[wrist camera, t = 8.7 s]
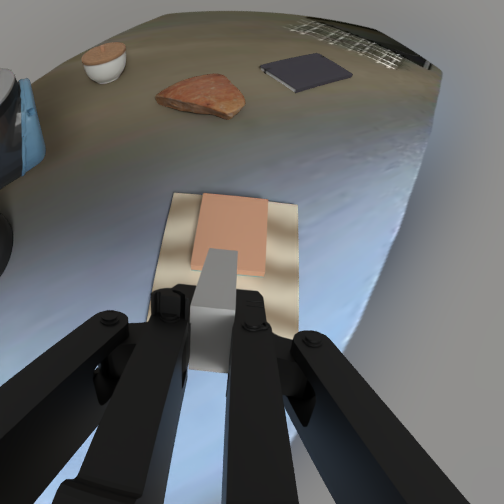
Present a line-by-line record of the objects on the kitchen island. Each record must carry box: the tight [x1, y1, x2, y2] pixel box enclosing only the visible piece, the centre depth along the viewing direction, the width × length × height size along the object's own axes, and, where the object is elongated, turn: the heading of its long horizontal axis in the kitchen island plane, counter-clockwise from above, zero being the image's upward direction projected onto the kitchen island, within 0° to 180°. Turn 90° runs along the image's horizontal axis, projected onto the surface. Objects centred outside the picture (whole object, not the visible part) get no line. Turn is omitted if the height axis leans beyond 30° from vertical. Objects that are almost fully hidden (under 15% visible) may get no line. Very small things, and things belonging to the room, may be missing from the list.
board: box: [147, 193, 299, 340], centre depth 40 cm, size 20×18×1 cm
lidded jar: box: [82, 42, 126, 84], centre depth 57 cm, size 11×11×9 cm
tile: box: [191, 193, 268, 277], centre depth 41 cm, size 2×9×11 cm
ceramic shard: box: [155, 74, 245, 120], centre depth 55 cm, size 15×6×15 cm
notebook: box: [260, 53, 353, 93], centre depth 67 cm, size 13×2×21 cm
